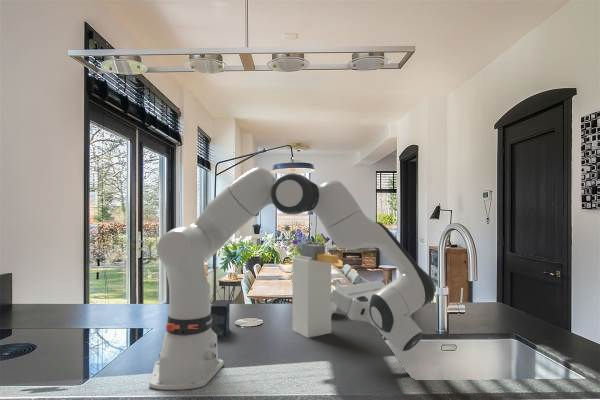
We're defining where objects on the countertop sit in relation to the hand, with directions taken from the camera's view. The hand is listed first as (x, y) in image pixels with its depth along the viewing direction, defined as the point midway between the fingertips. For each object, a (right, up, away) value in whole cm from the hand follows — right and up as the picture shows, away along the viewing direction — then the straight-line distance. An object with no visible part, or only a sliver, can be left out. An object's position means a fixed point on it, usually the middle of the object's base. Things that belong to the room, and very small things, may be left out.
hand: (346, 279), depth 129 cm
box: (-43, -22, +14) cm, 50 cm away
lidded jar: (-4, -23, +40) cm, 46 cm away
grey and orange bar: (-8, +4, +12) cm, 15 cm away
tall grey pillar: (-11, -22, +16) cm, 29 cm away
